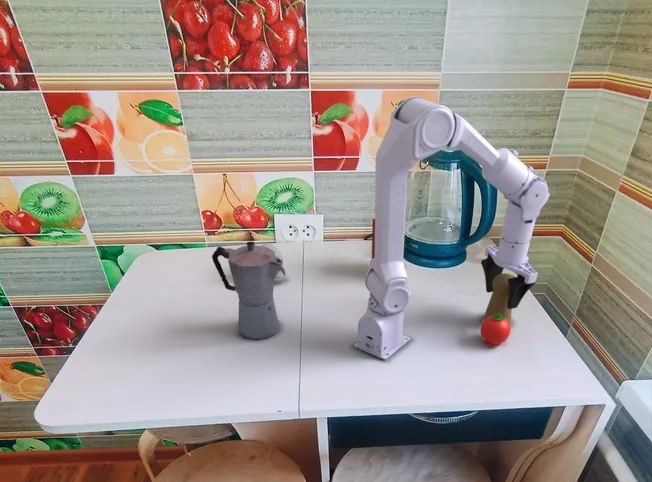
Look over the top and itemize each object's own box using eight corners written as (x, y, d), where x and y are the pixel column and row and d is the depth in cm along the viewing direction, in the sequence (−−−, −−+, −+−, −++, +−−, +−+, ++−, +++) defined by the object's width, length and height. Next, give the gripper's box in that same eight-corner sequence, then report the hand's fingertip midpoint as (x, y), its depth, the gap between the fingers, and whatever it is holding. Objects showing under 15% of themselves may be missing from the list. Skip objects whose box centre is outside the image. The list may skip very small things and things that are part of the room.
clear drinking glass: (242, 278, 120) (238, 250, 115) (263, 266, 126) (260, 239, 121) (273, 289, 116) (270, 261, 111) (294, 277, 121) (292, 249, 116)
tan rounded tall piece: (508, 315, 106) (519, 270, 99) (512, 329, 101) (524, 283, 94) (481, 313, 106) (490, 269, 99) (484, 327, 102) (494, 282, 95)
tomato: (500, 353, 94) (507, 325, 90) (473, 343, 97) (478, 315, 93) (511, 340, 98) (519, 312, 94) (485, 330, 101) (491, 303, 97)
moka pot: (284, 345, 97) (273, 254, 84) (215, 337, 99) (195, 248, 87) (297, 321, 104) (289, 234, 91) (232, 314, 107) (216, 229, 94)
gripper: (556, 249, 88) (538, 311, 96) (509, 222, 98) (496, 281, 107) (526, 255, 86) (510, 318, 94) (481, 227, 96) (470, 286, 105)
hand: (501, 299), depth 100 cm, fingers open, 7 cm apart
